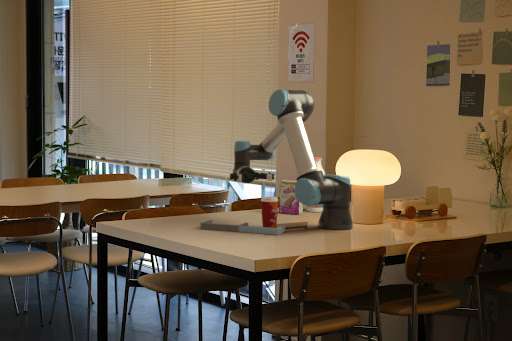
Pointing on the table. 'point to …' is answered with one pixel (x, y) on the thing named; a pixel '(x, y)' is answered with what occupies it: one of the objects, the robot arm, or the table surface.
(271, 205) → the paper cup
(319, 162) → the fruit juice
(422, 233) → the table surface
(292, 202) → the candy bar box
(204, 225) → the bay organizer
